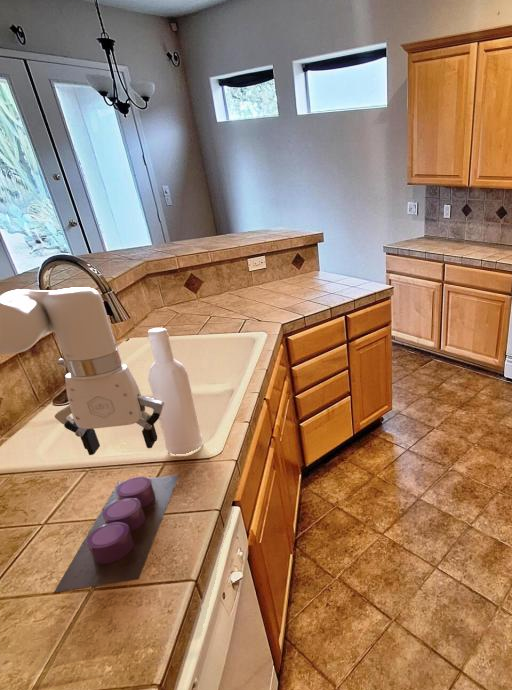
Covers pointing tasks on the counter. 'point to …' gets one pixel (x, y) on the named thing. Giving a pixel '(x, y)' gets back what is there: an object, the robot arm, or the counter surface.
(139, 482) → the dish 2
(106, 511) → the dish centre
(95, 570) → the dark grey board
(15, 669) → the counter surface
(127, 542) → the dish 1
